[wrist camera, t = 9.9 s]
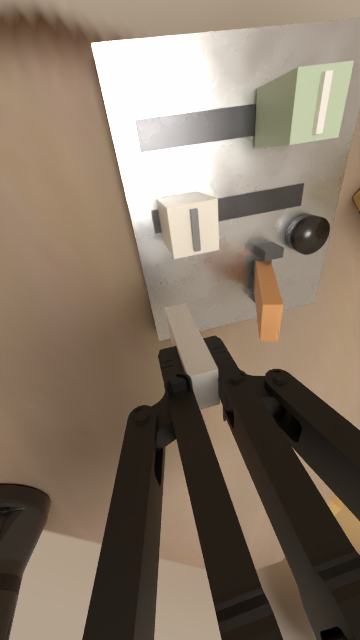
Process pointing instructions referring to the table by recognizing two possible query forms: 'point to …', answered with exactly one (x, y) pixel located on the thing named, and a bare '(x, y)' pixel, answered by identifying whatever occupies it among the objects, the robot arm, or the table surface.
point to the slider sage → (302, 105)
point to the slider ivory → (189, 223)
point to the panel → (226, 160)
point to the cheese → (357, 199)
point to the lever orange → (267, 301)
